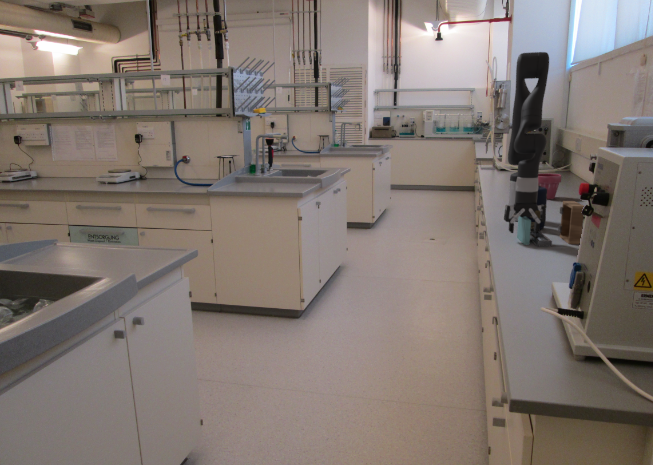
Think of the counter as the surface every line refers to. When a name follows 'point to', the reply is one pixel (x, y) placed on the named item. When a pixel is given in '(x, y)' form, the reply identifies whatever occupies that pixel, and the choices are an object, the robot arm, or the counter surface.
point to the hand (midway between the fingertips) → (523, 232)
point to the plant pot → (549, 183)
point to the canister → (540, 201)
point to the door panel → (524, 230)
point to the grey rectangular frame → (544, 240)
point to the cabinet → (571, 222)
